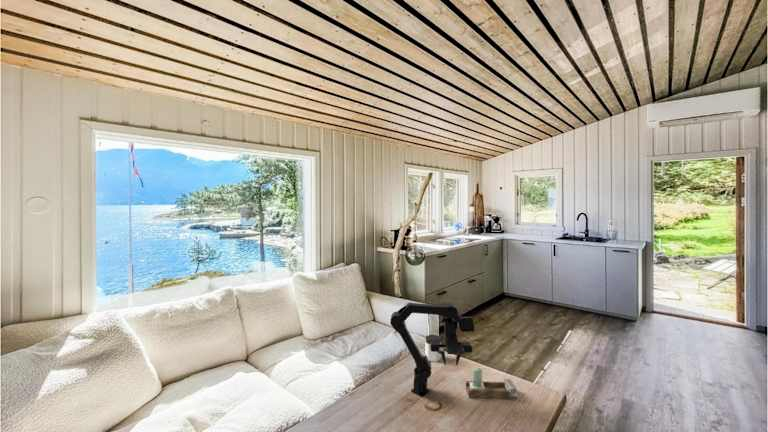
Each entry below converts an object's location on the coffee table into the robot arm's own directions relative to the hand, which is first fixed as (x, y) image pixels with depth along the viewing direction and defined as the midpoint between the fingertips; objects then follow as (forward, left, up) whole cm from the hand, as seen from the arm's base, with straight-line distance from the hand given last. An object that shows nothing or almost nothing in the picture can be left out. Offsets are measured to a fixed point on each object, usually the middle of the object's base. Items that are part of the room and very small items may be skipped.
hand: (450, 364), depth 148 cm
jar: (+22, +26, -13) cm, 36 cm away
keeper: (+8, -9, -11) cm, 16 cm away
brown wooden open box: (+11, -14, -13) cm, 22 cm away
